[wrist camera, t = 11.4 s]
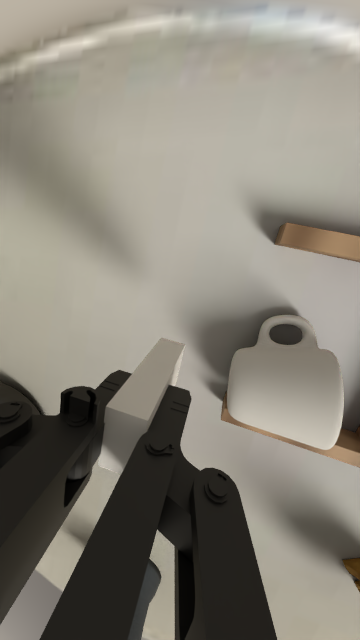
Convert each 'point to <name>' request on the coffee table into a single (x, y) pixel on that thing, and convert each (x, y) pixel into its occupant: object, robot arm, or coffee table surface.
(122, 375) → the robot arm
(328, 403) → the cup
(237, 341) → the coffee table surface
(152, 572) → the mug
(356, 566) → the figurine
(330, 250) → the brown wooden open frame
